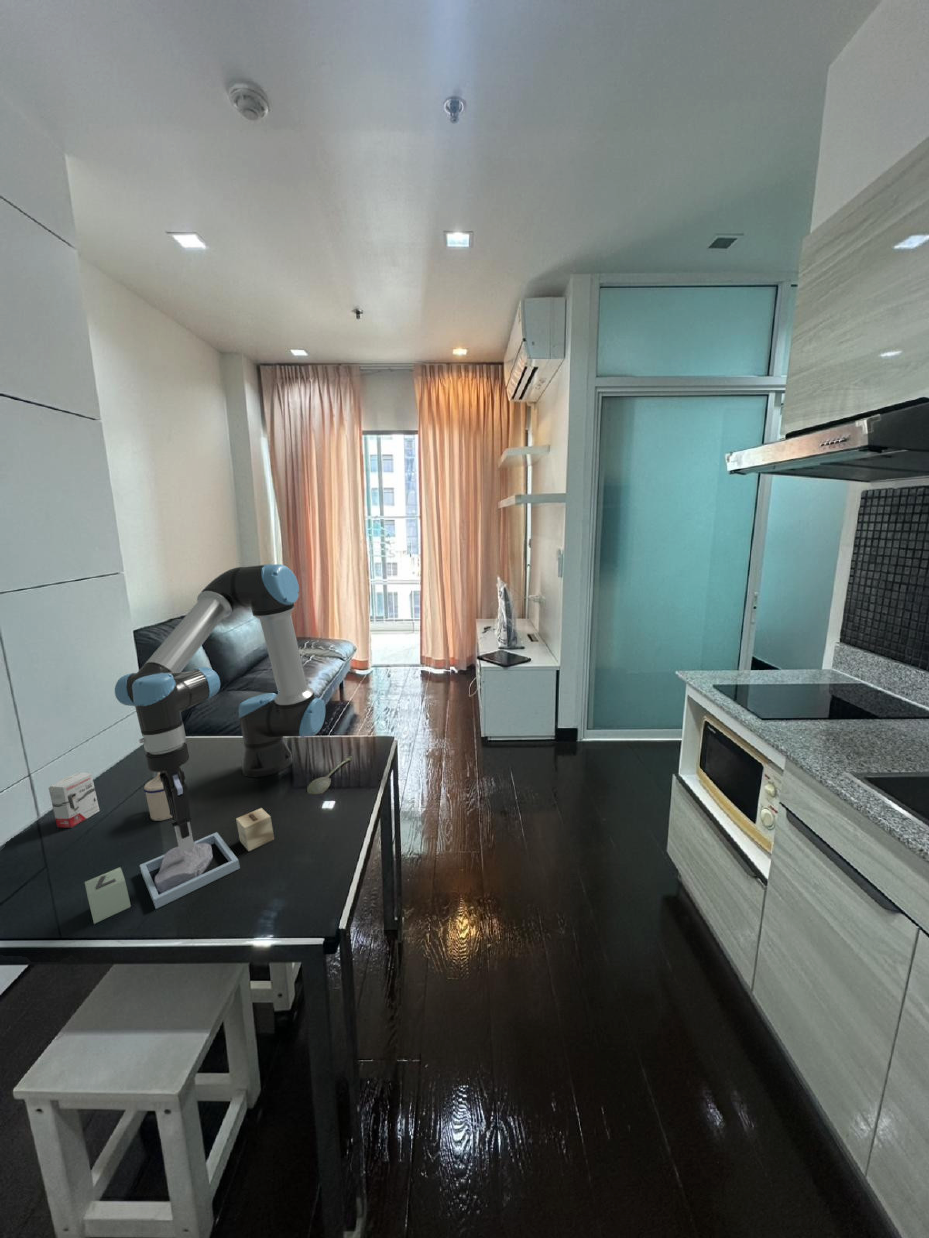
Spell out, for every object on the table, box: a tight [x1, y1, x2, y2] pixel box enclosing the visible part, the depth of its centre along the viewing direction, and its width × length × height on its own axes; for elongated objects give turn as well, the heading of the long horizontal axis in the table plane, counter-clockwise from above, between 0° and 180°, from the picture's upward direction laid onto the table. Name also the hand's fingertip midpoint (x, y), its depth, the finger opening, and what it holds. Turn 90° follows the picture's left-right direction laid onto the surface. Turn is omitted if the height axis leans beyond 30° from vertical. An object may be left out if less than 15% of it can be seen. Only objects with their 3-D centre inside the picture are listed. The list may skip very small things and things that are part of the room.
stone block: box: [154, 843, 214, 894], centre depth 107 cm, size 12×5×10 cm
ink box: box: [48, 772, 101, 829], centre depth 134 cm, size 9×5×12 cm, turn 168°
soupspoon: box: [306, 755, 353, 795], centre depth 147 cm, size 22×3×7 cm
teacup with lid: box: [143, 772, 172, 822], centre depth 134 cm, size 12×9×12 cm
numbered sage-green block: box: [84, 866, 132, 925], centre depth 98 cm, size 6×6×6 cm
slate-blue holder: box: [139, 831, 241, 910], centre depth 108 cm, size 16×16×2 cm
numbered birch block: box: [235, 807, 275, 852], centre depth 117 cm, size 6×6×6 cm
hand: (186, 848), depth 107 cm, fingers closed
